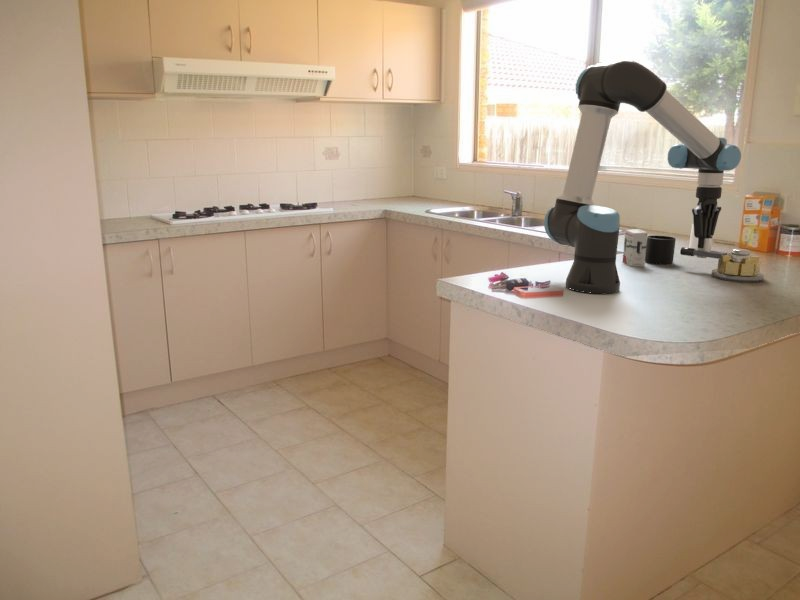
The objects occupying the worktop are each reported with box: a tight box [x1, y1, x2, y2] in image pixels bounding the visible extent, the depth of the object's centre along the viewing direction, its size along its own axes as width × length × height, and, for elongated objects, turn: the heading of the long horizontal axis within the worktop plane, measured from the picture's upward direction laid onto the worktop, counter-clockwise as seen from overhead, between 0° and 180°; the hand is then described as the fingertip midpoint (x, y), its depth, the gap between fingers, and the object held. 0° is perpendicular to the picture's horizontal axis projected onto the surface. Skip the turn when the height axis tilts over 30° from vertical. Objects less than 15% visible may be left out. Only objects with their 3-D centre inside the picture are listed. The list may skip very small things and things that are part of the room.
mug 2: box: [688, 222, 714, 252], centre depth 262 cm, size 12×8×10 cm
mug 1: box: [645, 235, 677, 266], centre depth 237 cm, size 9×12×9 cm
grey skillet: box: [680, 246, 761, 276], centre depth 216 cm, size 11×24×6 cm, turn 45°
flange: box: [711, 248, 765, 284], centre depth 212 cm, size 15×15×9 cm
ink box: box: [622, 228, 648, 267], centre depth 231 cm, size 8×5×12 cm, turn 2°
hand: (701, 257), depth 222 cm, fingers closed
